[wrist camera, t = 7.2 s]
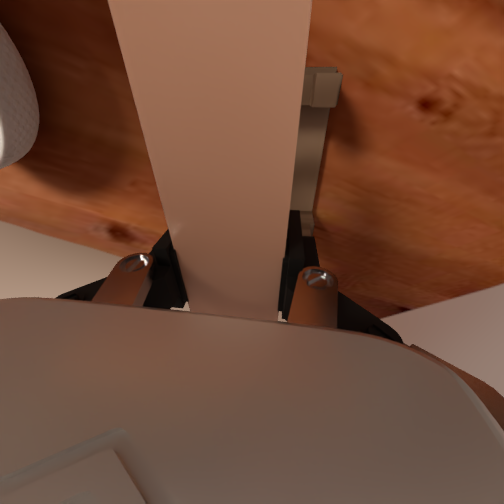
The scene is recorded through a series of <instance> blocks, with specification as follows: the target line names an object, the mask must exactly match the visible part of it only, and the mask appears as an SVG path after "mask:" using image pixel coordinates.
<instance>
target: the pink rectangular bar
mask: <svg viewBox="0 0 504 504" xmlns="http://www.w3.org/2000/svg"><path fill="white" fill-rule="evenodd" d="M108 3H109V7H110V11H111V15H112V18H113V22H114V26H115V30H116V33H117V37H118V41H119V45H120V48H121V52H122V56H123V60H124V63H125V67H126V71H127V75H128V79H129V82H130V86H131V90H132V94H133V97H134V101H135V105H136V109H137V112H138V116H139V120H140V124H141V127H142V131H143V135H144V139H145V142H146V146H147V150H148V154H149V158H150V161H151V165H152V169H153V173H154V176H155V180H156V184H157V188H158V191H159V195H160V199H161V203H162V206H163V210H164V214H165V218H166V221H167V225H168V229H169V233H170V237H171V240H172V244H173V248H174V249H175V250H176V254H177V258H178V262H179V266H180V270H181V273H182V277H183V281H184V285H185V289H186V292H187V296H188V300H189V302H188V304H189V308H190V312H199V313H208V314H218V315H227V316H236V317H245V318H254V319H263V320H272V321H278V312H279V311H277V310H278V300H279V291H280V281H281V271H282V262H283V257H285V248H286V238H287V229H288V220H289V211H290V201H291V192H292V183H293V174H294V164H295V155H296V146H297V137H298V128H299V118H300V109H301V100H302V91H303V81H304V72H305V63H306V54H307V44H308V35H309V26H310V17H311V7H312V0H108Z"/></svg>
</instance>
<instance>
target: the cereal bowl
mask: <svg viewBox="0 0 504 504" xmlns="http://www.w3.org/2000/svg"><path fill="white" fill-rule="evenodd" d="M38 107H39V106H38V102H37V98H36V93H35V89H34V87H33V83H32V81H31V78H30V75H29V73H28V70H27V69H26V66H25V64H24V62H23V59H22V58H21V56H20V54H19V52H18V50H17V49H16V47H15V45H14V43H13V42H12V40H11V39H10V37H9V36H8V33H7V32H6V30H5V29H4V28H3V26H2V25H1V23H0V169H1V168H4V167H6V166H9V165H11V164H12V163H14V162H16V161H18V160H19V159H20V158H22V157H24V155H25V154H26V153H28V152H29V150H30V149H31V147H32V146H33V143H34V142H35V140H36V136H37V132H38V128H39V109H38Z"/></svg>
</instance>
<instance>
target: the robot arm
mask: <svg viewBox="0 0 504 504" xmlns="http://www.w3.org/2000/svg"><path fill="white" fill-rule="evenodd" d="M152 249H153V250H152V251H151V252H150V253H149V254H147V253H135V254H131V255H128V256H126V257H124V258H122V259H121V260H120V261H119V262H118V263H117V264H116V265H115V267H114V268H113V270H112V271H111V273H110V274H109V275H108V277H106V278H103V279H101V280H98V281H96V282H93V283H90V284H87V285H85V286H82V287H79V288H77V289H74V290H72V291H69V292H66V293H64V294H61V295H59V296H58V297H56V298H54V299H53V298H39V297H21V298H7V299H0V504H504V397H503V396H501V395H500V394H499V393H498V392H497V391H496V390H495V389H494V388H492V387H491V386H489V385H488V384H486V383H485V382H483V381H481V380H480V379H478V378H476V377H474V376H472V375H470V374H468V373H466V372H465V371H462V370H461V369H459V368H457V367H455V366H453V365H451V364H450V363H448V362H446V361H444V360H442V359H440V358H438V357H436V356H434V355H433V354H430V353H429V352H427V351H425V350H423V349H421V348H419V347H418V346H416V345H414V344H412V345H411V346H408V345H406V344H404V343H403V341H402V339H401V337H400V336H399V334H398V333H397V332H396V331H395V330H394V329H392V328H391V327H390V326H389V325H387V324H386V323H384V322H383V321H381V320H380V319H379V318H377V317H376V316H374V315H373V314H371V313H370V312H368V311H367V310H365V309H364V308H362V307H361V306H359V305H358V304H356V303H355V302H354V301H352V300H351V299H349V298H348V297H346V296H345V295H343V294H342V293H340V292H339V291H338V281H337V278H336V276H335V275H334V274H333V273H332V272H330V271H329V270H327V269H325V268H321V267H320V265H319V260H318V254H317V249H316V243H315V238H314V237H313V236H302V228H301V218H300V210H290V211H289V220H288V229H287V238H286V248H285V257H283V262H282V271H281V281H280V291H279V300H278V310H277V311H282V319H285V320H286V321H287V322H280V321H272V320H263V319H254V318H245V317H236V316H227V315H218V314H208V313H199V312H190V311H180V310H171V309H170V308H171V307H175V308H183V307H184V305H185V303H186V302H189V300H188V296H187V292H186V289H185V285H184V281H183V277H182V273H181V270H180V266H179V262H178V258H177V254H176V250H175V249H174V248H173V244H172V240H171V237H170V233H169V229H168V230H167V231H166V232H165V233H164V235H163V236H162V237H161V238H160V239H159V241H158V242H157V243H156V244H155V245H154V246H153V248H152Z"/></svg>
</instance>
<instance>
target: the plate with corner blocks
mask: <svg viewBox="0 0 504 504" xmlns="http://www.w3.org/2000/svg"><path fill="white" fill-rule="evenodd" d="M336 71H337V67H305V72H304V81H303V91H302V100H301V109H300V118H299V128H298V137H297V146H296V155H295V164H294V174H293V183H292V192H291V201H290V210H300V218H301V228H302V236H312V235H313V230H314V225H315V224H314V219H313V214H312V208H313V202H314V197H315V191H316V185H317V180H318V174H319V168H320V162H321V157H322V151H323V145H324V140H325V134H326V128H327V123H328V117H329V111H330V107H335V106H336V105H337V104H338V98H339V93H340V88H341V83H342V77H343V75H341V74H342V73H336Z"/></svg>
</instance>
